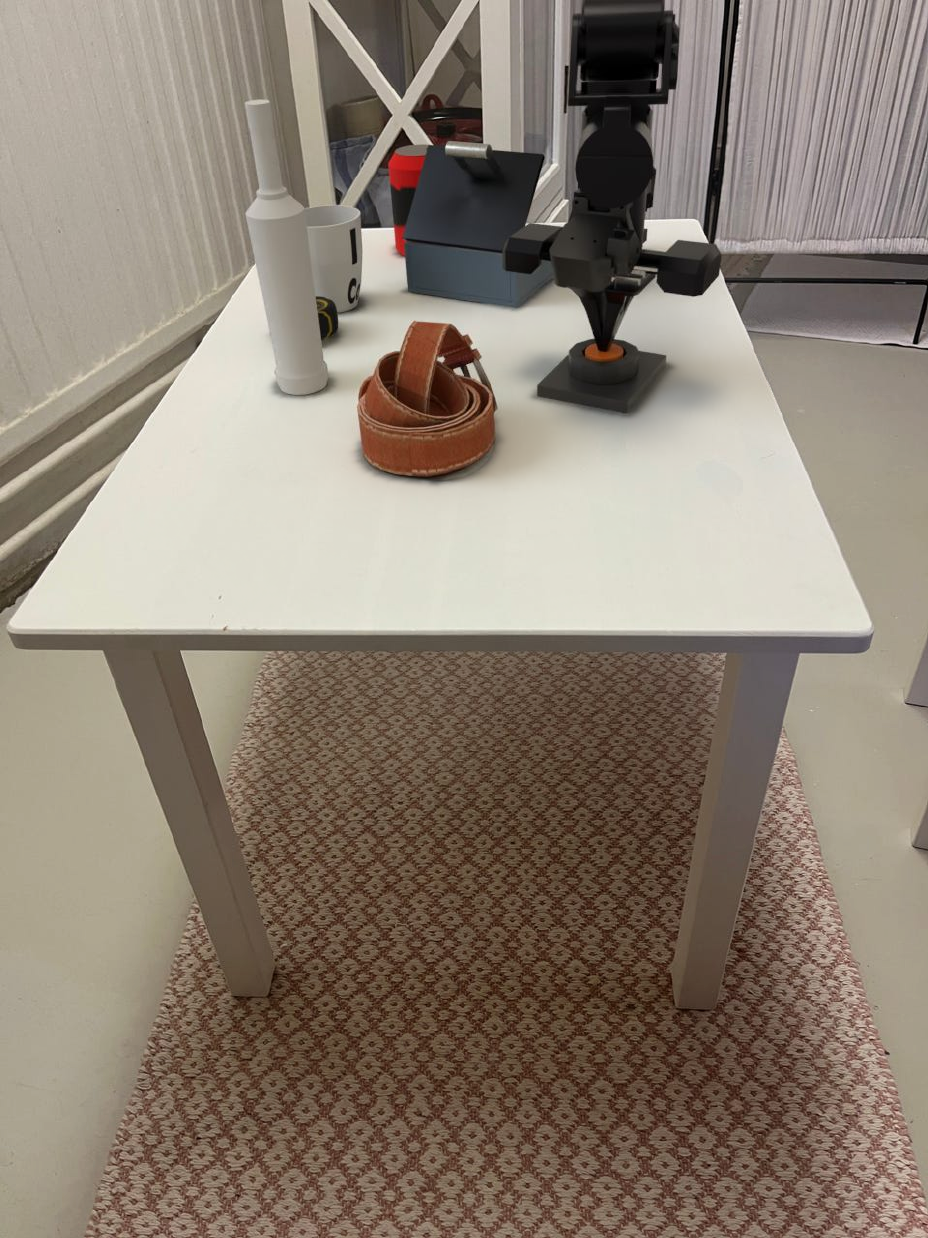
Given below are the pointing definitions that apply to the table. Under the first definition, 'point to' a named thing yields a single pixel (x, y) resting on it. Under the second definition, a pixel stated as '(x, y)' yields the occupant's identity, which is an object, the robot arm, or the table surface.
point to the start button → (604, 353)
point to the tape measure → (327, 317)
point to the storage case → (469, 275)
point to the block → (602, 377)
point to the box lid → (472, 196)
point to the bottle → (283, 265)
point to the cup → (336, 253)
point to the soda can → (404, 186)
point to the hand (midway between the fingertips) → (604, 349)
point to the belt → (427, 405)
